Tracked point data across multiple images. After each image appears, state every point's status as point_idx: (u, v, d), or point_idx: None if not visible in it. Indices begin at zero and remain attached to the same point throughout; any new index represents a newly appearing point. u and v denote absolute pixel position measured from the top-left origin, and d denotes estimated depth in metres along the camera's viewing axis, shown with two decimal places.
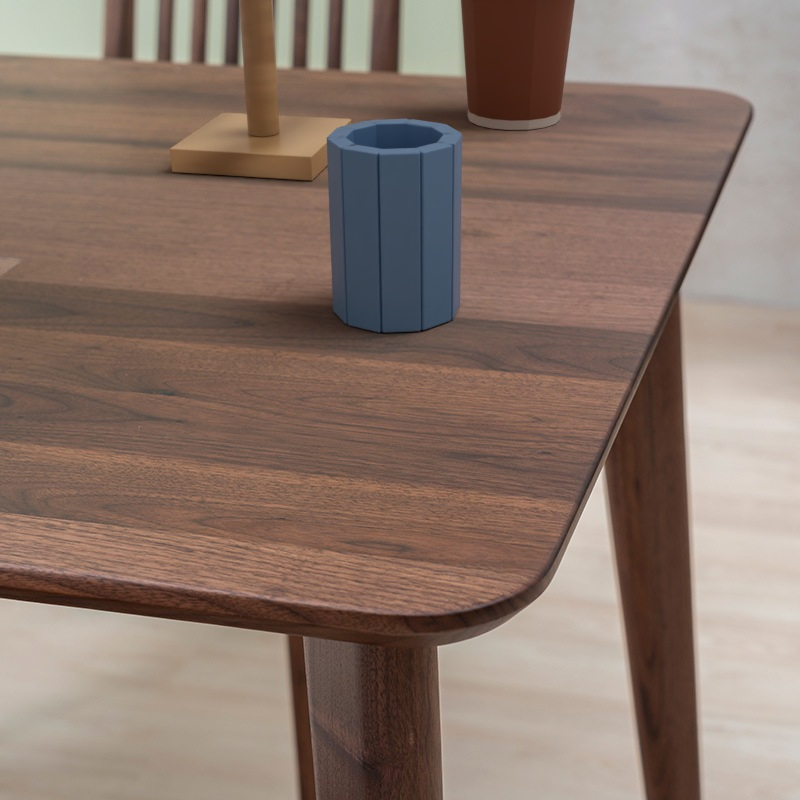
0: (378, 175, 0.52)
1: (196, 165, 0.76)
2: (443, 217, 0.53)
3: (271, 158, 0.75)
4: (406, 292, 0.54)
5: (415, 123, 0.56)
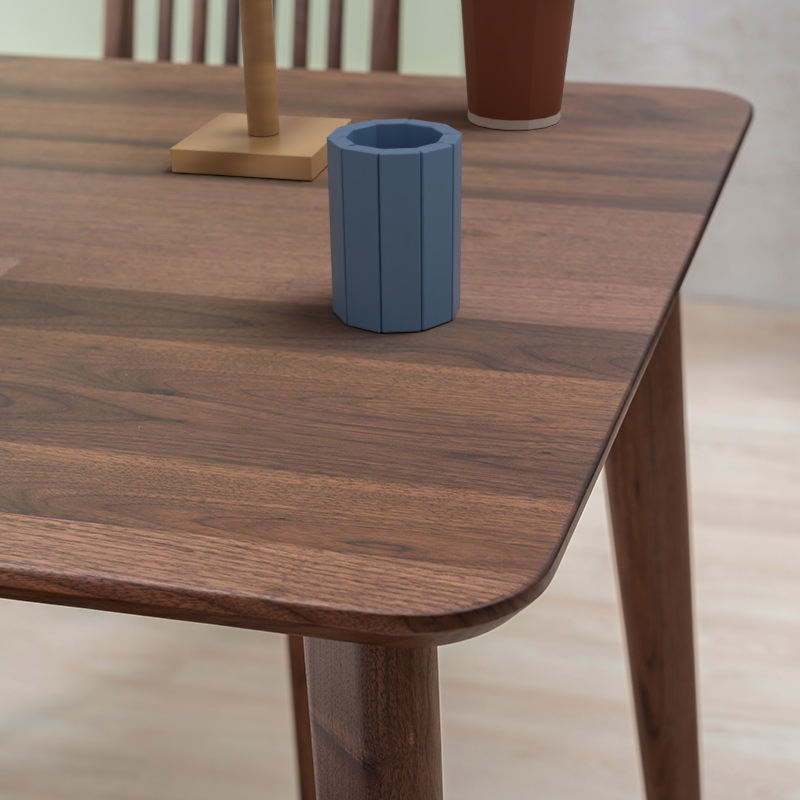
0: (378, 175, 0.52)
1: (196, 165, 0.76)
2: (443, 217, 0.53)
3: (271, 158, 0.75)
4: (406, 292, 0.54)
5: (415, 123, 0.56)
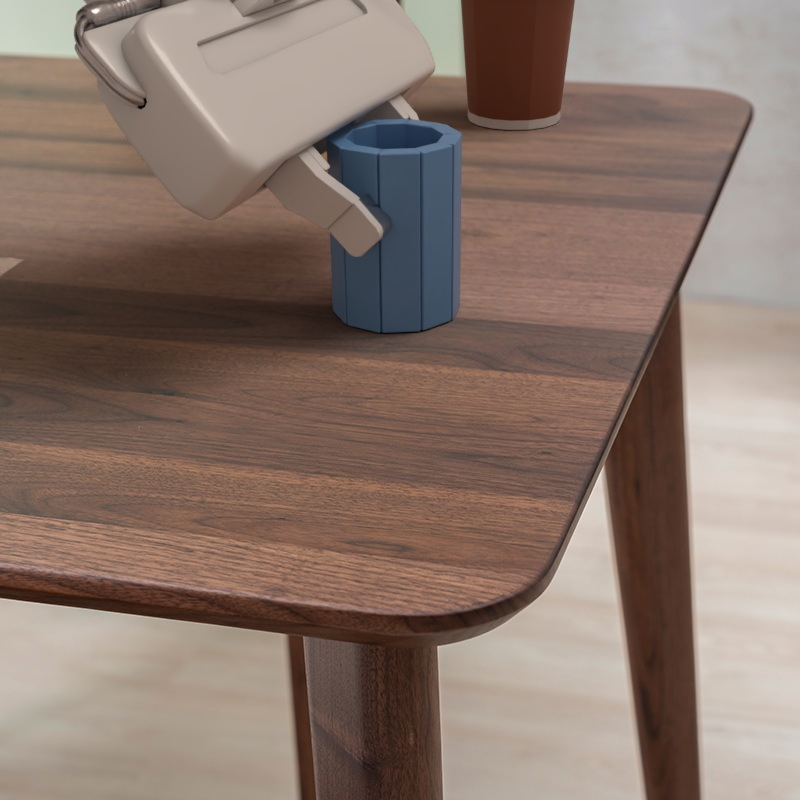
0: (378, 175, 0.52)
1: None
2: (443, 217, 0.53)
3: None
4: (406, 292, 0.54)
5: (415, 123, 0.56)
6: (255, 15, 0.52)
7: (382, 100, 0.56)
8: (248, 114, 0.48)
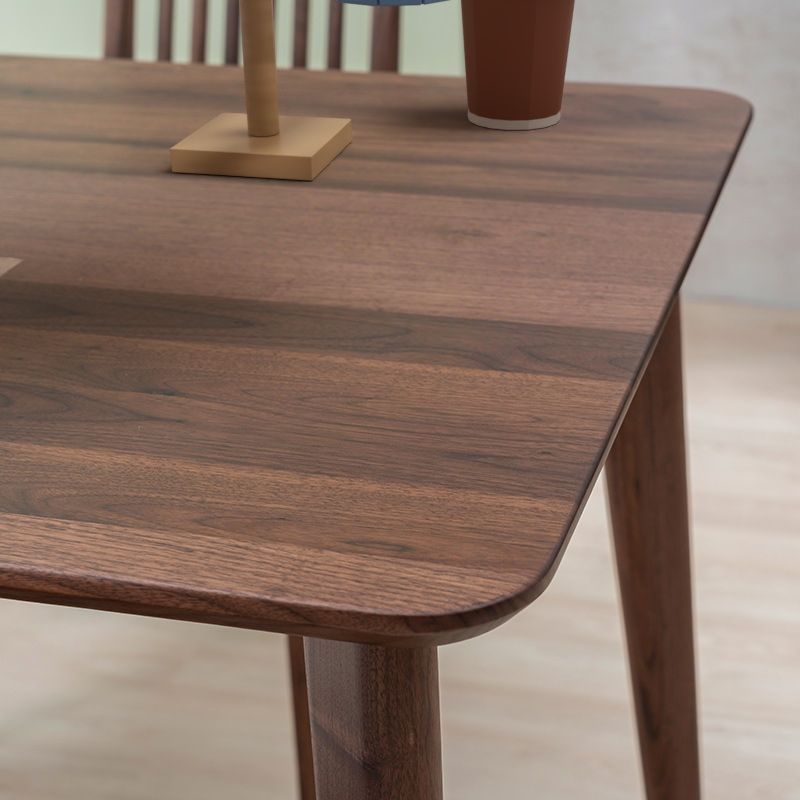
0: None
1: (196, 165, 0.76)
2: None
3: (271, 158, 0.75)
4: None
5: None
6: None
7: None
8: None
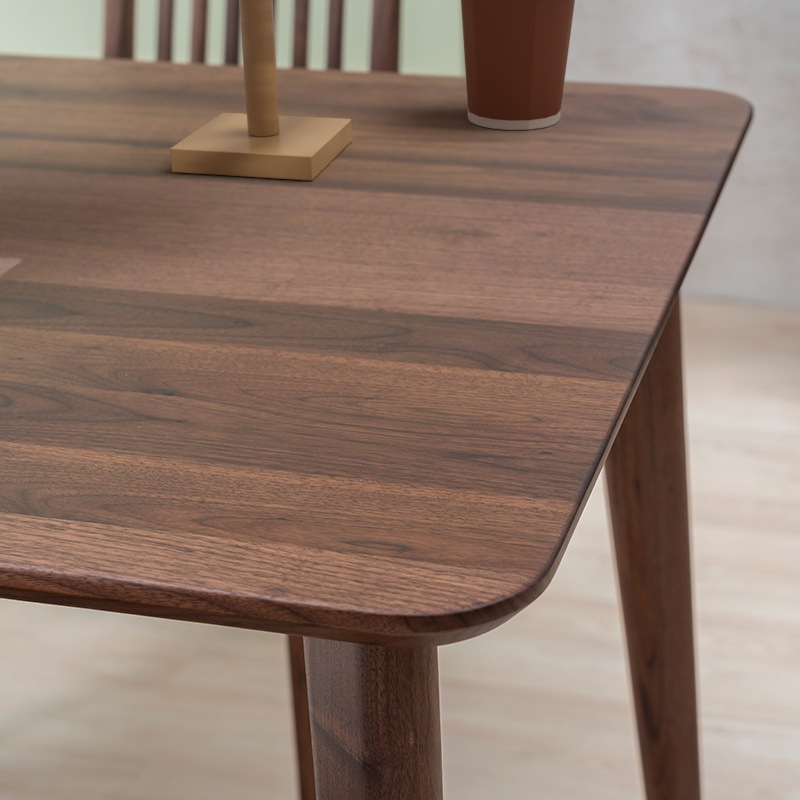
0: None
1: (196, 165, 0.76)
2: None
3: (271, 158, 0.75)
4: None
5: None
6: None
7: None
8: None
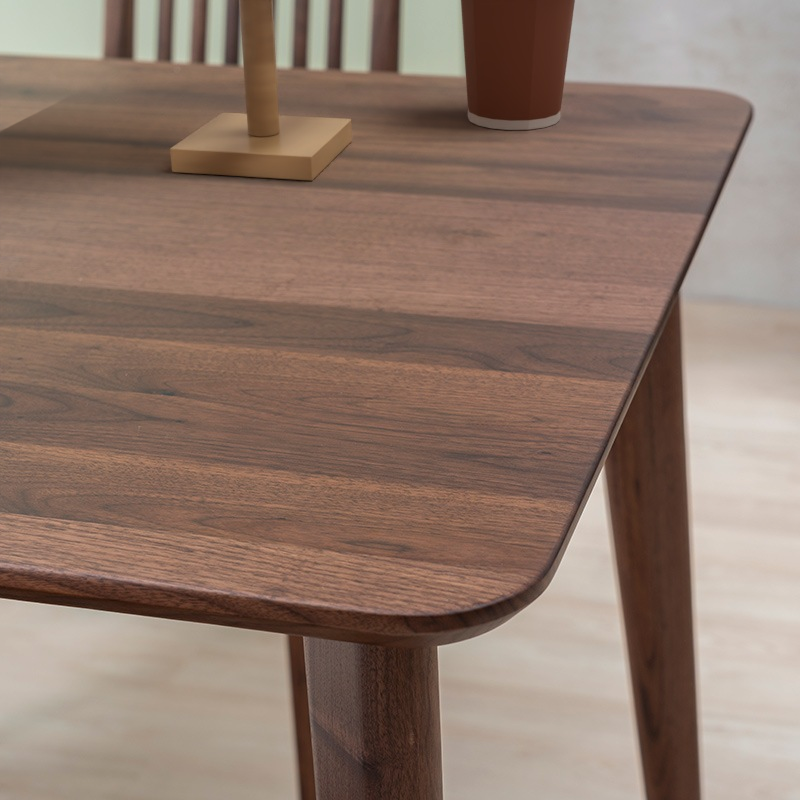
0: None
1: (196, 165, 0.76)
2: None
3: (271, 158, 0.75)
4: None
5: None
6: None
7: None
8: None
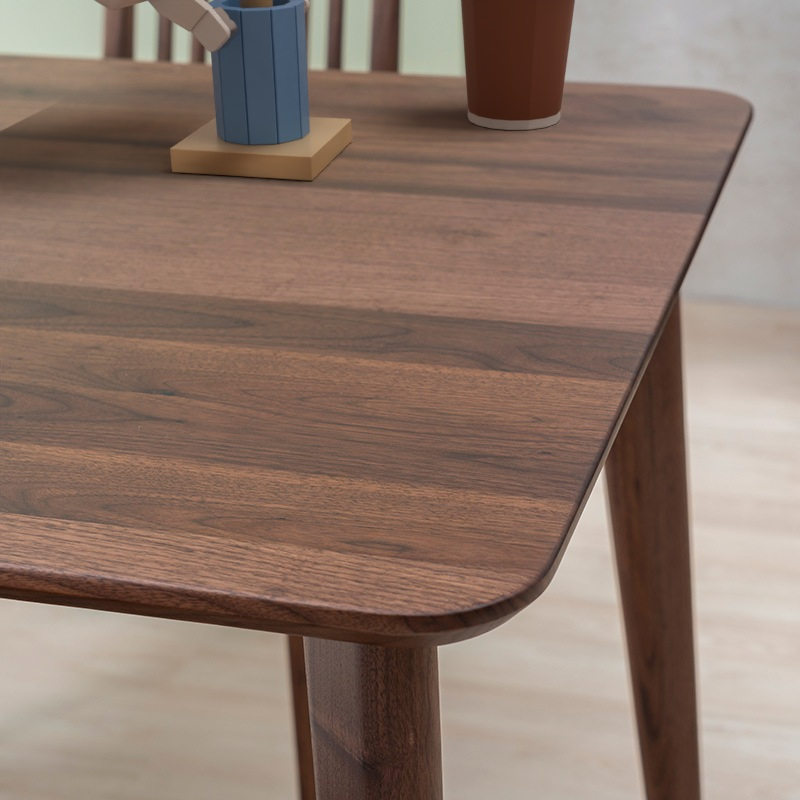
0: (241, 26, 0.74)
1: (196, 165, 0.76)
2: (290, 59, 0.75)
3: (271, 158, 0.75)
4: (265, 114, 0.76)
5: None
6: None
7: None
8: None
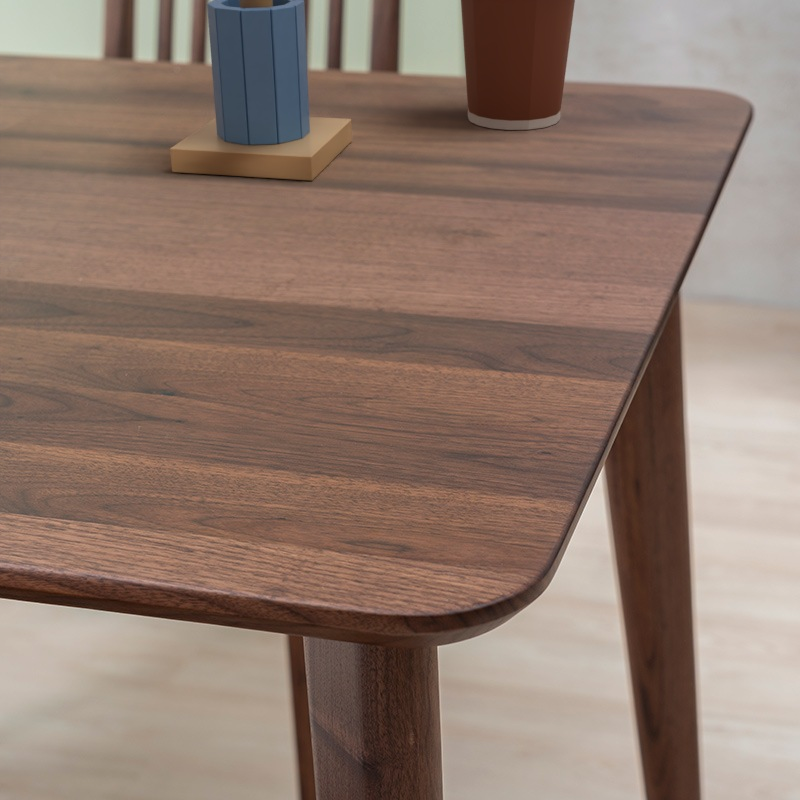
0: (241, 26, 0.74)
1: (196, 165, 0.76)
2: (290, 59, 0.75)
3: (271, 158, 0.75)
4: (265, 114, 0.76)
5: None
6: None
7: None
8: None
